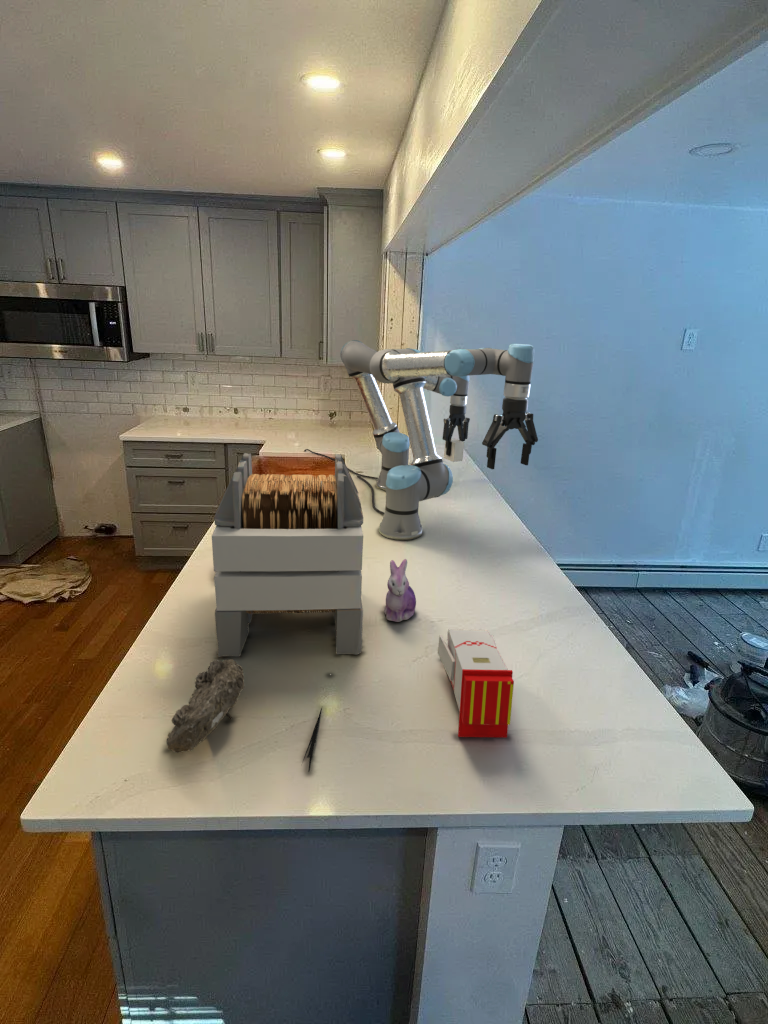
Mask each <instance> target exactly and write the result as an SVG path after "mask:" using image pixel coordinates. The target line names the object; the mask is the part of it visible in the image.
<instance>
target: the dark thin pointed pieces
mask: <svg viewBox="0 0 768 1024" xmlns="http://www.w3.org/2000/svg"><path fill="white" fill-rule="evenodd" d="M329 675H330V676H331V675H332V674H331V673H330V674H329ZM322 710H323V707H321V708H320V710H319V713H318V716H317V719H316V723H315V725H314V728H313V731H312V733H311V737H310V739H309V742H308V745H307V748H306V751H305V754H304V757H303V760H302V763H301V767H302V765H303V763H304V761H305V758H308V759H309V760H308V762H307V763H308V764H307V766H308V771H310V770H311V766H312V765H311V764H312V760H313V757H315V756H314V755H315V751H316V749H315V746H317V739H318V733H319V729H320V722H321V717H322V712H323V711H322ZM313 754H314V755H313ZM306 755H307V757H306Z"/></svg>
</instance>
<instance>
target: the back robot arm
mask: <svg viewBox="0 0 768 1024" xmlns="http://www.w3.org/2000/svg"><path fill="white" fill-rule="evenodd" d="M378 351H379V350H378ZM378 351H377V350H376V349H373V348H371V347H369V346H368V345H367V344H365V343H363V342H362V341H360V340H357V339H353V340H349V341H347V342H346V343H345V344H344V345H343V346H342V347H341V349H340V359H341V362H342V363H343V365H344V368H345V369H346V372H347V375H348V377H349V378H350V379H353V380H354V383H355V385H356V387H357V390H358V392H359V395H360V397H361V399H362V403H363V404H364V405H363V406H364V408H365V410H366V412H367V414H368V417H369V419H370V422H371V424H372V427H373V431H372V435H373V438H374V441H375V444H376V447H377V450H378V451H379V452H380V454H381V467H380V473H379V474H378V477H376V476H371V475H365V474H361V473H358V472H355V471H354V470H352V469H350V468H349V467H347V469H348V471H349V472H351V473H353V474H354V475H357V476H360V477H362V478H363V477H365V478H368V479H373V480H376V488H377V489H378V490H381V491H383V492H386V480H387V474H388V472H389V470H390V469H392V468H394V467H396V466H401V465H404V466H405V465H409V456H410V447H411V445H410V441H409V436H408V434H405V433H402V432H400V430H399V427H398V424H397V423H396V422H394V421H393V420H392V418H391V416H390V413H389V411H388V408H387V406H386V403H385V401H384V398H383V395H382V393H381V390H380V387H379V384H378V382H377V380H376V379H375V378H374V377H373V376H372V374H371V372H370V361H371V359H372V357H373V356H374V354H375V353H377V352H378ZM425 382H426V384H425V385H424V387H423V390H427V391H428V392H429V391H430V392H433V393H435V394H439V395H441V396H443V397H450V398H449V404H450V405H449V410H448V411H449V415H448V417H447V418H443V430H442V438H441V439H442V440H443V441H444V442H445V441H446V455H448V456H451V447H452V442H450V441H451V439H453V435H454V431H455V429H456V427H457V433H458V440H460V441H463V442H466V440H468V437H469V436H468V435H469V425H470V421H471V418H470V417H466V414H467V405H468V394H469V386H470V376H460V377H457V376H435V377H426V378H425ZM306 451H308V452H309V453H311V454H314V455H318V456H322V457H324V458H327V459H330V460H332V461H334V462H335V458H334V457H331V456H329V455H325V454H323V453H318V452H316V451H313V450H311V449H310V448H309V449H308V448H305V449H304V450H303V452H306Z"/></svg>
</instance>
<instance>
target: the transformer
mask: <svg viewBox="0 0 768 1024" xmlns="http://www.w3.org/2000/svg"><path fill="white" fill-rule="evenodd" d="M334 459H335V461H334V474H329V475H328V476H327V475H325V474H318V475H313V474H290V475H289V474H288V475H287V474H286V475H285V474H279V473H278V474H275V473H274V474H273V473H272V474H270V473H266V474H265V473H262V474H259V473H253V463H252V453H248V452H247V453H246V452H244V453H242V456H241V459H240V460H239V462H238V465H237V467H236V469H235V471H234V472H233V474H232V476H231V478H230V480H229V483H228V485H227V487H226V490H225V492H224V494H223V496H222V498H221V501H220V503H219V504H218V507H217V510H216V512H215V514H214V517H213V522H214V525H215V528H214V529H213V532H212V534H211V548H212V562H213V563H212V565H213V572H215V571H217V572H215V575H214V577H213V579H214V594H215V610H214V620H215V634H216V635H215V636H216V643H217V653H216V655H217V657H218V658H224V657H240V656H241V654H242V651H243V648H244V647H245V644H246V640H247V638H248V636H249V624H251V622H252V619H253V615H254V614H255V615H256V614H260V615H261V614H273V613H274V614H307V613H308V614H309V613H311V614H314V613H315V614H317V613H333V615H334V635H335V654H336V655H356V656H357V655H359V654H361V653H362V650H363V619H364V618H363V617H364V608H363V601H362V586H363V585H362V584H363V574H362V571H363V549H364V533H363V532H364V531H363V529H362V528H363V527H362V525H363V524H364V514H363V508H362V504H361V500H360V495H359V491H358V488H357V485H356V484H355V482H354V479H353V478H352V475H351V473H350V471H349V470H348V469H347V468H348V466H347V464H346V462H345V460H344V458H343V456H342V454H341V453H335V456H334Z"/></svg>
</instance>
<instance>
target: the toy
mask: <svg viewBox="0 0 768 1024" xmlns="http://www.w3.org/2000/svg"><path fill="white" fill-rule="evenodd" d="M446 640H447V643H446V641H445V639H444V636H443V635H442V634H439V637H438V646H437V656H438V657H439V659H440V661H441V663H442V666H443V668H444V670H445V672H446V674H447V677H448V679H449V681H450V684H451V687H452V690H453V693H454V697H455V701H456V705H457V708H458V711H459V714H458V715H459V716H458V730H457V731H458V732H457V737H458V738H508V731H509V726H510V725H511V717H512V707H513V697H514V696H513V695H514V684H515V680H514V679H513V673H514V671H513V670H512V669H508V667H507V665H506V662H505V661H504V659H503V658H502V655H501V653H500V651H499V649H498V647H497V643H496V639H495V637H494V635H493V634H491V632H490V631H489V629H467V628H466V629H465V628H463V629H461V628H460V629H459V628H448V630H447V639H446Z"/></svg>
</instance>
